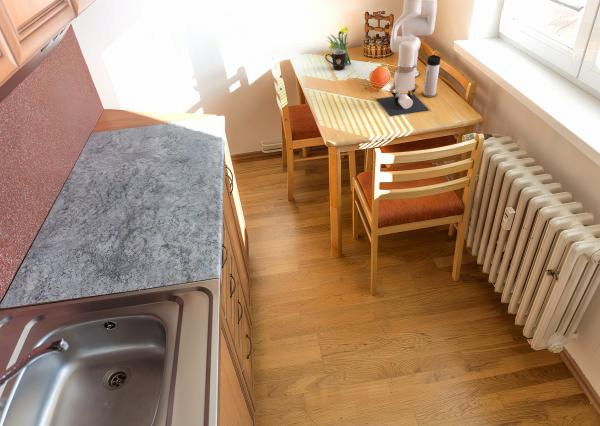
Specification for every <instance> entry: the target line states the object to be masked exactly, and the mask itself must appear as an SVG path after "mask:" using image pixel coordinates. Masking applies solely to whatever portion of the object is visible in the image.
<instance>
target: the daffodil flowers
mask: <svg viewBox="0 0 600 426" xmlns="http://www.w3.org/2000/svg"><path fill="white" fill-rule="evenodd" d="M342 24H343V22H341V23H340V21H338V25H339V29H340V30H339V31H338V35H337V36H338V37H335V36H334V35H333V34H330V36H327V39H326V41H327V42H328V43H330V45H328V49H329V50H332V51H333V50H338V49H341V50H345V51H346V56H345V64H344V65H345V66H347V65H351V64H352V61H351V59H350V56H349V53H348V50H347V45H348V43H349V41H347V40H349V37H347V36H348V31H349V29H348V27H347V26H345V27H343V25H342ZM331 37H332V39H333V40H332V39H331ZM328 39H329V40H328ZM337 39H338V40H337Z"/></svg>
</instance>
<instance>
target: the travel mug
mask: <svg viewBox="0 0 600 426" xmlns="http://www.w3.org/2000/svg"><path fill="white" fill-rule="evenodd" d="M440 66H441V56H439V55H436V54H431V55H429V56H428V57H427V62H426V69H425V78H424V85H423V96H424V97H426V98H433V97H435V96H436V94H437V86H438V80H439V74H440Z"/></svg>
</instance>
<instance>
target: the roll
mask: <svg viewBox="0 0 600 426" xmlns="http://www.w3.org/2000/svg"><path fill="white" fill-rule="evenodd" d="M407 94H408V93H406V92H399V94H398V96H397V97H398V103H399V104H400V105H401V106H402V107H403V108H404V109H408V108H410V107H411V106H412V104H413V101H412V100H411V99H410V98H409V97H408V95H407Z"/></svg>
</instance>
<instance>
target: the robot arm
mask: <svg viewBox="0 0 600 426" xmlns="http://www.w3.org/2000/svg"><path fill="white" fill-rule="evenodd" d="M437 12H438V0H403V6H402V13H401V15H400V16H399V17H398V18H397V19H396V20H395V22H394V24H393V26H392V28H391V31H390V32H391V33H390V43H389V48H390V49H389V50H390V51H391V52H392V53H398V57H397V58H398V59H397V70H395V71H394V74H393V75H394V76H393V79H392V85H391V87H390V88H388V92H389V93H390V94H391V95H392V97H394V103H395V104H396V105H398V97H397V96H398V94H399V93H405V92H408V93H406V94H407V95H408V97H409V98H410V99H411V98H412V95H413V94H414V93H416V91H417V90H418V89H419V85H417V84H416V77H418V76H419V74H420V71H419V70H417V68H418V60H419V59H418V57H419V50H420V48H421V42H422V41H421V39H420V38H419V36H420V37H422V36H423V37H424V36H425V37H427V36H429V37H430V36H432V35H433V34H434V31H435V27H436V21H437V20H436V19H437ZM400 27H401V35H398V31H399V29H400Z"/></svg>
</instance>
